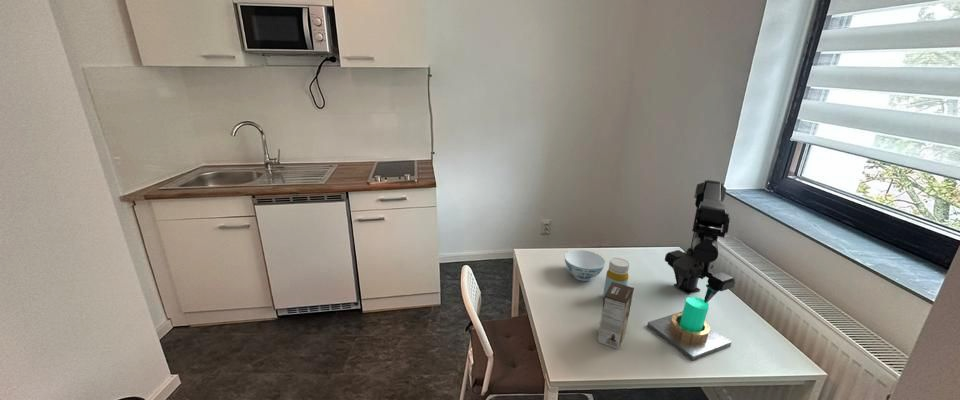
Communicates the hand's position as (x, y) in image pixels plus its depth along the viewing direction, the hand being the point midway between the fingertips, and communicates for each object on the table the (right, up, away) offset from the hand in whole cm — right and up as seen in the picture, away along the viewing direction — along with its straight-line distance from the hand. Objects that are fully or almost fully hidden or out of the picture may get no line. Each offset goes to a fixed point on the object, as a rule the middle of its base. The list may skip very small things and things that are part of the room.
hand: (691, 293), depth 113 cm
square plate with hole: (-1, -13, +1) cm, 13 cm away
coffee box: (-24, -13, 0) cm, 28 cm away
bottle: (-17, -7, +18) cm, 26 cm away
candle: (0, -12, +1) cm, 12 cm away
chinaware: (-24, -2, +33) cm, 40 cm away
